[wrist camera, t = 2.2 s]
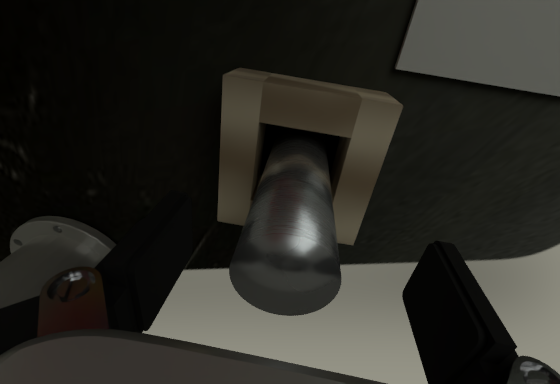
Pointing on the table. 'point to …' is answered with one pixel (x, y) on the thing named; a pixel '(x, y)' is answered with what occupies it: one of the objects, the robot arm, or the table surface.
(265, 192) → the steel round peg
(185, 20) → the table surface
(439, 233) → the table surface
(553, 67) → the grey rubber mat
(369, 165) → the maple socket block
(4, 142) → the table surface
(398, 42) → the table surface
